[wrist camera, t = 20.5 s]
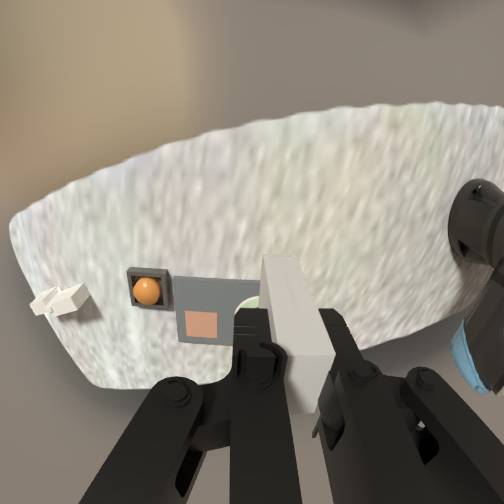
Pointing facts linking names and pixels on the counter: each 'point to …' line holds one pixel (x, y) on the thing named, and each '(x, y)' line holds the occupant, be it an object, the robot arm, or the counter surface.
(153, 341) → the counter surface
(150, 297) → the button
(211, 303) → the board
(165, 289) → the button housing
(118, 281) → the counter surface
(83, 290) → the white block piece
